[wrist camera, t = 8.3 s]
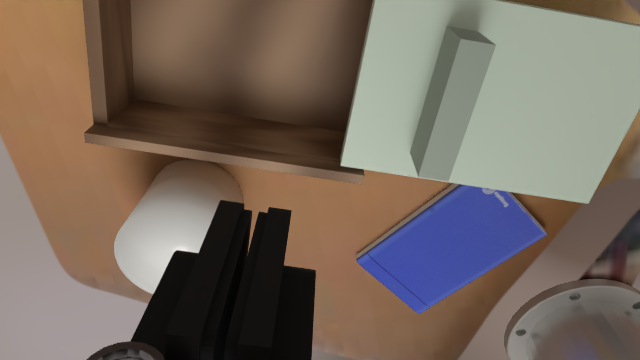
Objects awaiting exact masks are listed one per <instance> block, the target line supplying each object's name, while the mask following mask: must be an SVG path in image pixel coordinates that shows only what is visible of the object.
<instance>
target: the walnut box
mask: <svg viewBox="0 0 640 360" xmlns="http://www.w3.org/2000/svg"><path fill="white" fill-rule="evenodd" d="M372 2H373V0H83V10H84V21H85V32H86V43H87V55H88V66H89V77H90V88H91V99H92V110H93V121H94V125H93V126H92V127H90V128H89V129H88V130H87V131H86V132H85V133H84V136H85V143H92V144H98V145H105V146H112V147H118V148H125V149H131V150H138V151H145V152H151V153H158V154H164V155H171V156H178V157H184V158H191V159H197V160H204V161H211V162H217V163H224V164H230V165H237V166H244V167H250V168H257V169H264V170H270V171H277V172H283V173H290V174H297V175H303V176H310V177H316V178H323V179H330V180H336V181H343V182H349V183H356V184H362V183H363V179H364V170H363V169H358V168H351V167H345V166H341V164H340V157H341V152H342V147H343V142H344V137H345V133H346V128H347V123H348V118H349V113H350V108H351V104H352V99H353V94H354V89H355V84H356V79H357V75H358V70H359V65H360V60H361V55H362V50H363V46H364V41H365V36H366V31H367V26H368V21H369V17H370V12H371V7H372Z"/></svg>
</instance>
